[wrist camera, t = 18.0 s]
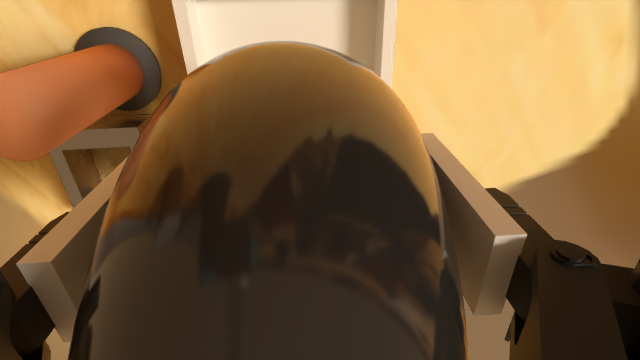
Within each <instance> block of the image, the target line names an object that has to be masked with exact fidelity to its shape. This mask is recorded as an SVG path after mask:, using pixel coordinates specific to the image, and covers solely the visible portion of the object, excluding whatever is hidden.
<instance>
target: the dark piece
mask: <svg viewBox="0 0 640 360" xmlns="http://www.w3.org/2000/svg"><path fill="white" fill-rule="evenodd" d="M68 360H468V340H467V328H466V318H465V309H464V302H463V294H462V287H461V281H460V274H459V268H458V262H457V257H456V251H455V246H454V240H453V235H452V230H451V225H450V220H449V216H448V211H447V207H446V203H445V199H444V195H443V192H442V188H441V185H440V182H439V179H438V176H437V173H436V170H435V167H434V164H433V162H432V159H431V157H430V154H429V151H428V149H427V147H426V144H425V142H424V140H423V137H422V135H421V133H420V131H419V129H418V127H417V125H416V123H415V121H414V119H413V117H412V116H411V114H410V112H409V111H408V109H407V108H406V106H405V105H404V103H403V102H402V101H401V99H400V98H399V97H398V96H397V94H396V93H395V92H394V91H393V90H392V89H391V88H390V87H389V86H388V85H387V84H386V83H385V82H384V81H383V80H382V79H381V78H380V77H379V76H378V75H377V74H375V73H374V72H373V71H372V70H370V69H369V68H368V67H366V66H365V65H363V64H362V63H360V62H358V61H357V60H355V59H353V58H351V57H349V56H347V55H345V54H343V53H340V52H338V51H335V50H333V49H330V48H327V47H323V46H320V45H315V44H311V43H305V42H297V41H268V42H260V43H254V44H249V45H245V46H241V47H238V48H235V49H232V50H229V51H227V52H224V53H222V54H220V55H218V56H216V57H214V58H212V59H210V60H209V61H207V62H205V63H204V64H202V65H201V66H199V67H198V68H196V69H195V70H193V71H192V72H191V73H190V74H188V75H187V76H186V77H185V78H184V79H182V80H181V81H180V82H179V83H178V84H177V85H176V86H175V87H174V88H173V89H172V90H171V91H170V92H169V94H168V95H167V96H166V97H165V98H164V100H163V101H162V102H161V103H160V105H159V106H158V107H157V109H156V110H155V112H154V113H153V115H152V116H151V118H150V119H149V121H148V123H147V124H146V126H145V127H144V129H143V131H142V132H141V134H140V136H139V138H138V139H137V141H136V143H135V145H134V147H133V148H132V150H131V152H130V154H129V156H128V158H127V160H126V162H125V164H124V166H123V168H122V171H121V173H120V175H119V177H118V179H117V182H116V184H115V187H114V189H113V192H112V195H111V197H110V200H109V203H108V205H107V208H106V211H105V214H104V217H103V220H102V223H101V226H100V229H99V232H98V236H97V239H96V242H95V246H94V249H93V252H92V256H91V259H90V263H89V266H88V270H87V273H86V277H85V281H84V284H83V288H82V292H81V296H80V300H79V304H78V309H77V313H76V317H75V322H74V327H73V332H72V337H71V342H70V348H69V354H68Z"/></svg>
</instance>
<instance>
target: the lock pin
mask: <svg viewBox="0 0 640 360" xmlns="http://www.w3.org/2000/svg"><path fill="white" fill-rule="evenodd" d="M143 84H144V72H143V69H142V66H141V64H140V62H139V61H138V59H137V58H136V57H135V56H134V55H133V54H132V53H131V52H130V51H128V50H127V49H125V48H124V47H121V46H119V45H116V44H108V43H107V44H101V45H97V46H94V47H90V48H87V49H83V50H80V51H76V52H73V53H69V54H66V55H62V56H59V57H55V58H52V59H48V60H45V61H41V62H38V63H34V64H31V65H27V66H24V67H20V68H17V69H13V70H10V71H6V72H3V73H0V156H2V157H5V158H8V159H12V160H18V161H30V160H35V159H38V158H41V157H42V156H44V155H46V154H47V153H49V152H50V151H52V150H53V149H55V148H56V147H58V146H59V145H61V144H62V143H64V142H65V141H67V140H68V139H70V138H71V137H73V136H75V135H76V134H78V133H79V132H81V131H82V130H84V129H85V128H87V127H88V126H90V125H91V124H93V123H94V122H96V121H97V120H99V119H100V118H102V117H103V116H105V115H106V114H108V113H109V112H111V111H112V110H114V109H115V108H117V107H118V106H120V105H121V104H123V103H124V102H126V101H127V100H129V99H130V98H132V97H134V96H135V95H136V94H138V93H139V92H140V90H141V89H142V87H143Z"/></svg>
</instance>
